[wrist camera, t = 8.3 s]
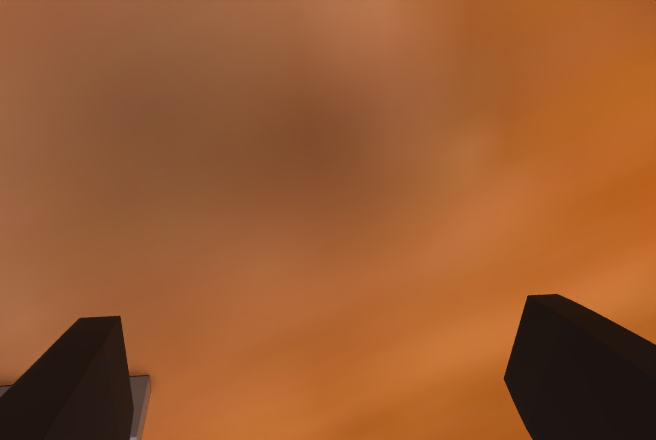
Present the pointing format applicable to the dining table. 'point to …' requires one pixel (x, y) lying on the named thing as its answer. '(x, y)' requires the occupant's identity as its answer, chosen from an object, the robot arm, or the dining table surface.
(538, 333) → the robot arm
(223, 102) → the dining table surface
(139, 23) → the dining table surface
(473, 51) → the dining table surface
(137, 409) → the tray
